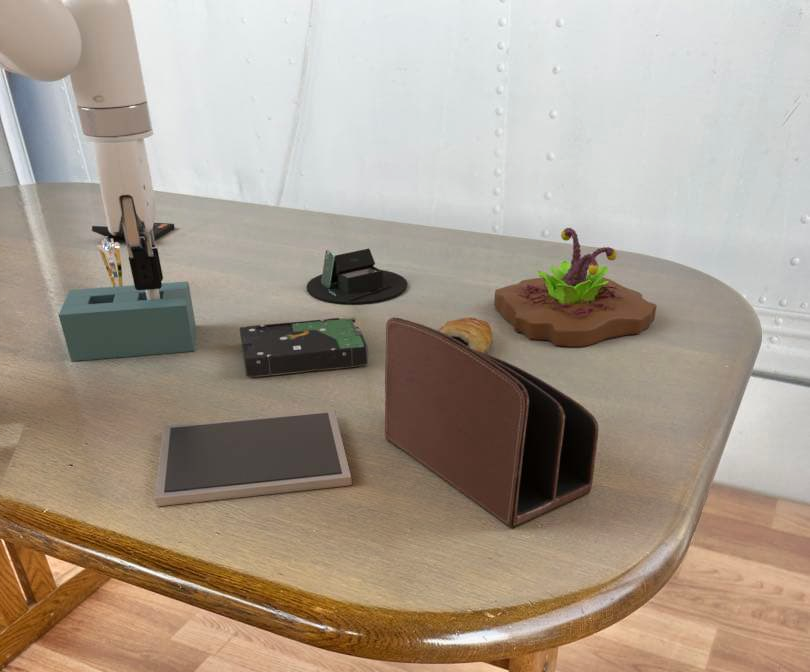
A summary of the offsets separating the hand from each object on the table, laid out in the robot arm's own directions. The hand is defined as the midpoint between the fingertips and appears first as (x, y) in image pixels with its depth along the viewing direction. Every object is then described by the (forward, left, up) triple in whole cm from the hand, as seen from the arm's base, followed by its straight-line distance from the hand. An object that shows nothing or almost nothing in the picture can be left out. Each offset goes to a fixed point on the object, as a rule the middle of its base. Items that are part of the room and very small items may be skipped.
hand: (149, 284), depth 101 cm
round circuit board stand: (+28, +15, -8) cm, 32 cm away
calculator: (-7, +50, -8) cm, 51 cm away
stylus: (0, 0, -7) cm, 7 cm away
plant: (+55, -3, -8) cm, 55 cm away
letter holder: (+33, -39, -8) cm, 52 cm away
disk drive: (+18, -9, -8) cm, 21 cm away
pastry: (+38, -11, -8) cm, 40 cm away
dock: (-3, 0, -7) cm, 8 cm away
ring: (-7, +19, -8) cm, 22 cm away
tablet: (+11, -33, -7) cm, 36 cm away
